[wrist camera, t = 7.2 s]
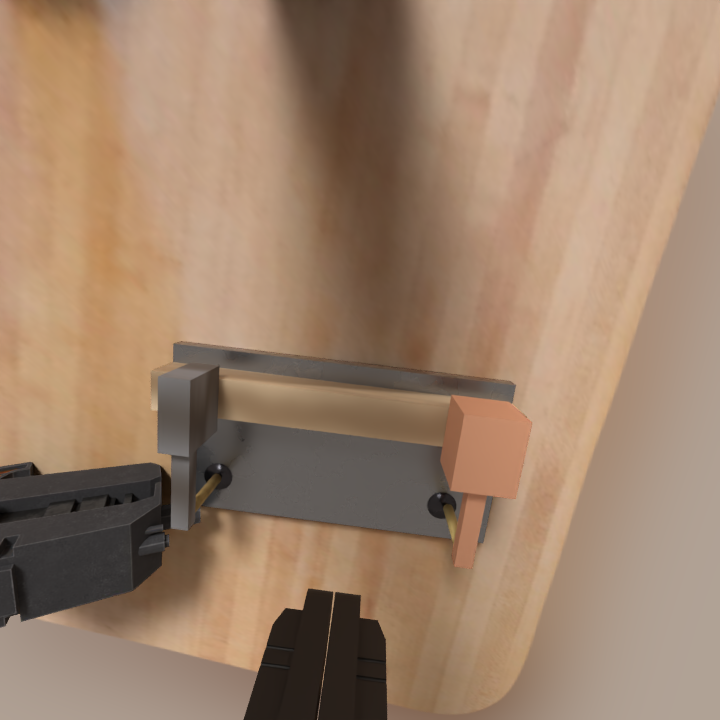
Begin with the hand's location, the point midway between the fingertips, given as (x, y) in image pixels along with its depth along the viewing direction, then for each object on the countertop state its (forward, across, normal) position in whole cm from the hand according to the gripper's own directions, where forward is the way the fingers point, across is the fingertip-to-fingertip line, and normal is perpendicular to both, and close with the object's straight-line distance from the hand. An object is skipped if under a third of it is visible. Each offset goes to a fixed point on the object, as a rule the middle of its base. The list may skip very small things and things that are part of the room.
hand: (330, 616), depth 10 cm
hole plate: (+21, +2, +4) cm, 21 cm away
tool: (+21, +22, +11) cm, 33 cm away
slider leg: (+19, -8, +3) cm, 21 cm away
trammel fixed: (+20, +2, +3) cm, 20 cm away
